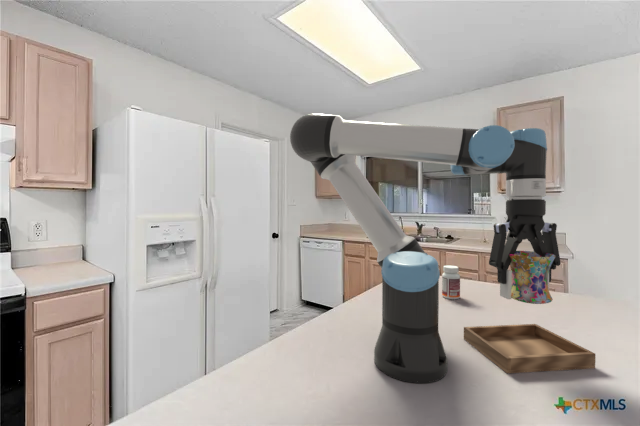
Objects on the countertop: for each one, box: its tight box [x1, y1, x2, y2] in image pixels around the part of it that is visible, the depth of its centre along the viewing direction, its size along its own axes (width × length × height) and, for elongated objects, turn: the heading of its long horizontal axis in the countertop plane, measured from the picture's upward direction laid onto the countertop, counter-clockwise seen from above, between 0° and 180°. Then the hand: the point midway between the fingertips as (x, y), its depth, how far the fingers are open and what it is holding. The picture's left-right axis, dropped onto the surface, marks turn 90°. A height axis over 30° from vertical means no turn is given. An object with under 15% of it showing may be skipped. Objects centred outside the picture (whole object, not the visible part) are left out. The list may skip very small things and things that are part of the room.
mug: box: [509, 250, 556, 305], centre depth 69 cm, size 12×9×11 cm
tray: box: [463, 323, 596, 374], centre depth 69 cm, size 20×16×3 cm
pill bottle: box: [441, 264, 461, 300], centre depth 110 cm, size 6×6×11 cm
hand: (524, 296), depth 69 cm, fingers closed on mug, 8 cm apart
